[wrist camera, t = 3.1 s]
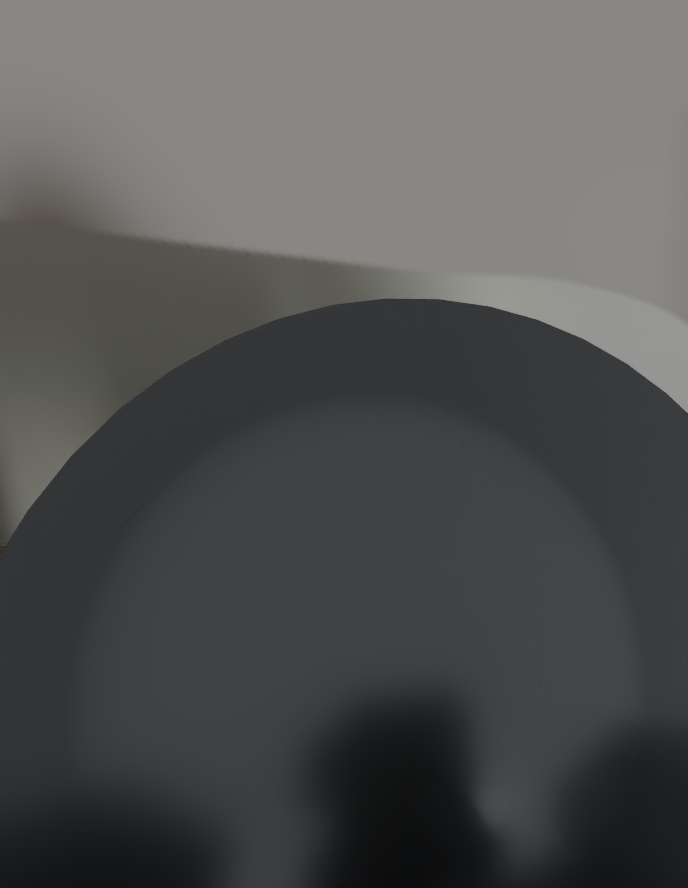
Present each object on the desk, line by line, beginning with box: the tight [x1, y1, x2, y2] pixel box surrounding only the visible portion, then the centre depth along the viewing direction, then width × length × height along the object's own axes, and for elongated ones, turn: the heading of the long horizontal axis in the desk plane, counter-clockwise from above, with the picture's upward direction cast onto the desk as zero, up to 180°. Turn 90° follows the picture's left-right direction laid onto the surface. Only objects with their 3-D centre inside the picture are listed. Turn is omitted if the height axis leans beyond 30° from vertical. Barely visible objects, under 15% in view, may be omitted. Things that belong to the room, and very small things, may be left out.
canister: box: [0, 299, 688, 888], centre depth 9 cm, size 5×5×13 cm
